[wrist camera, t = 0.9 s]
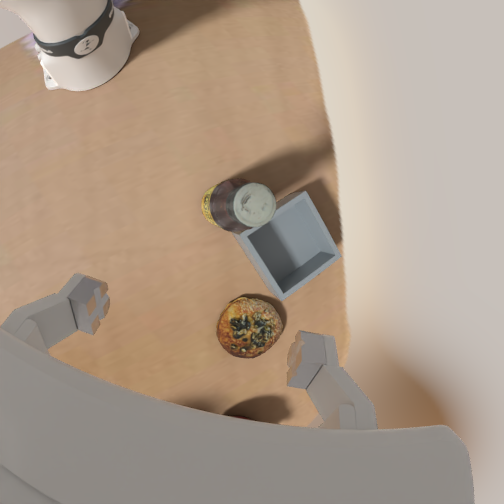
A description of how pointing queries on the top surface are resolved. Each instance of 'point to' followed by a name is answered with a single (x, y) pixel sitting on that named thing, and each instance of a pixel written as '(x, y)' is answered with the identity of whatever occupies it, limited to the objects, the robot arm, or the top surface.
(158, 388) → the top surface
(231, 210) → the sauce bottle
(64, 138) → the top surface
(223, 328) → the bread roll
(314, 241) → the bin
